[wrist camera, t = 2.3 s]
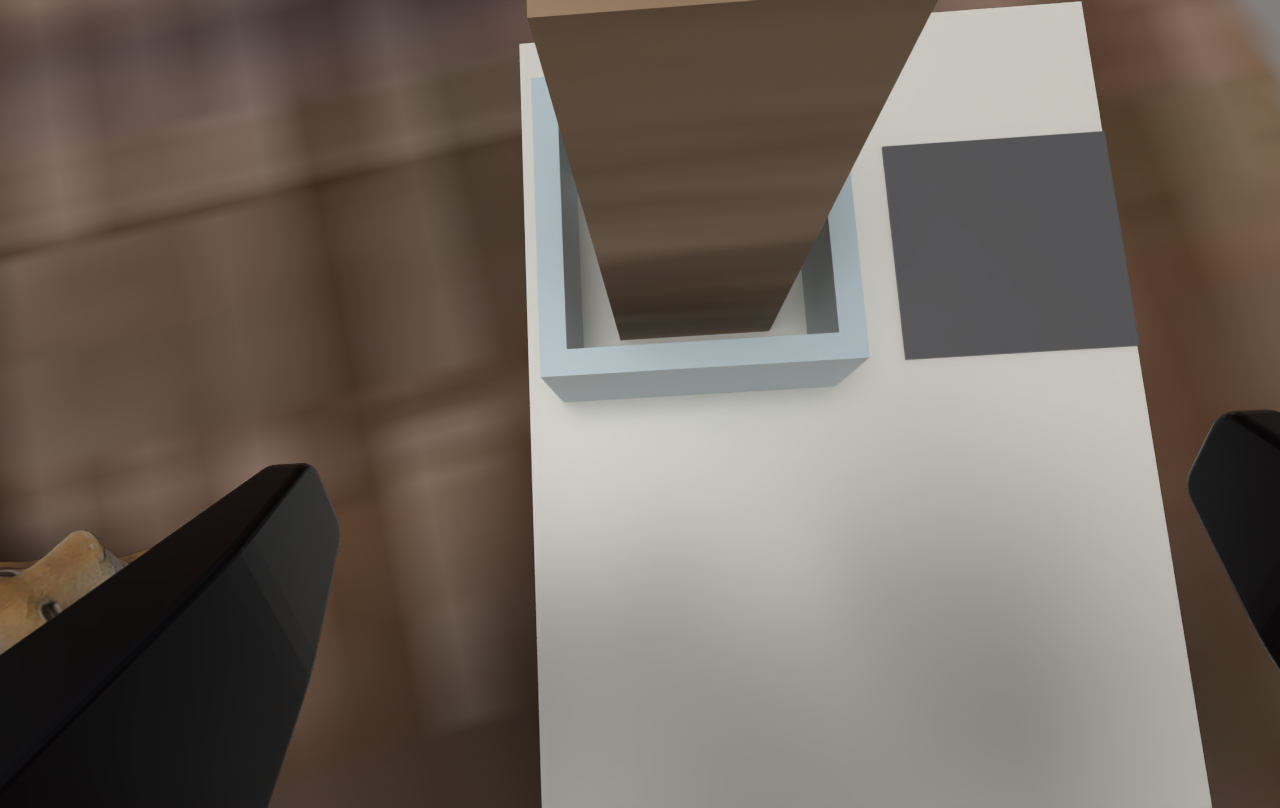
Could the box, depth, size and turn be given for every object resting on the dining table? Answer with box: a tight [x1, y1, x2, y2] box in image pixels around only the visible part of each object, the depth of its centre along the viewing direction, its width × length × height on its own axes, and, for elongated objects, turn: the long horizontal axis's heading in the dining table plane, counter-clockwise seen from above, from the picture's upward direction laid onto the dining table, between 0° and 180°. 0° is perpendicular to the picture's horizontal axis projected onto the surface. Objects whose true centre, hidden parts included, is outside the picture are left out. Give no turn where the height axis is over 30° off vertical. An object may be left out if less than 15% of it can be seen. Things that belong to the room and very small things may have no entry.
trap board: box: [520, 2, 1212, 808], centre depth 20 cm, size 24×16×1 cm, turn 3°
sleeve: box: [531, 77, 870, 402], centre depth 19 cm, size 7×7×4 cm
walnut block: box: [527, 0, 938, 340], centre depth 14 cm, size 4×4×13 cm
